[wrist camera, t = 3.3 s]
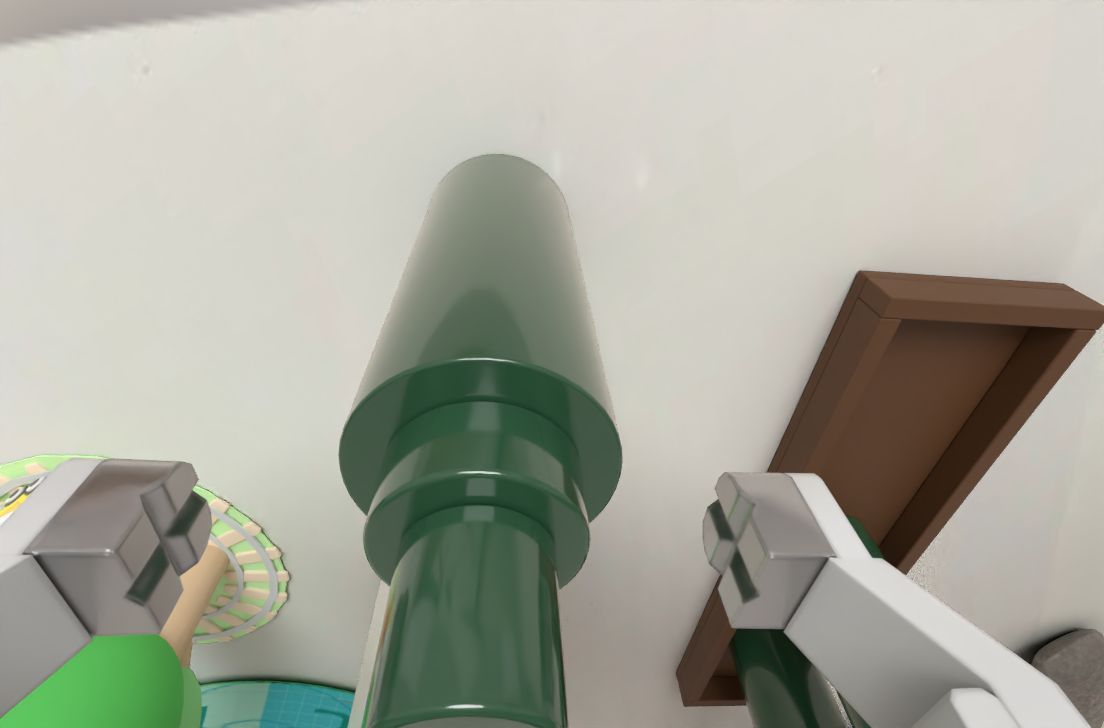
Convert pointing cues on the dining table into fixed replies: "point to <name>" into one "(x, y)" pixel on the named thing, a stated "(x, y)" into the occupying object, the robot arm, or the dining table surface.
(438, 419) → the bottle
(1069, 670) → the stone tool
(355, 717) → the jar
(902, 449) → the tray
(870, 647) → the robot arm
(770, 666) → the tray bottle
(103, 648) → the train set
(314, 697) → the bowl
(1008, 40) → the dining table surface
